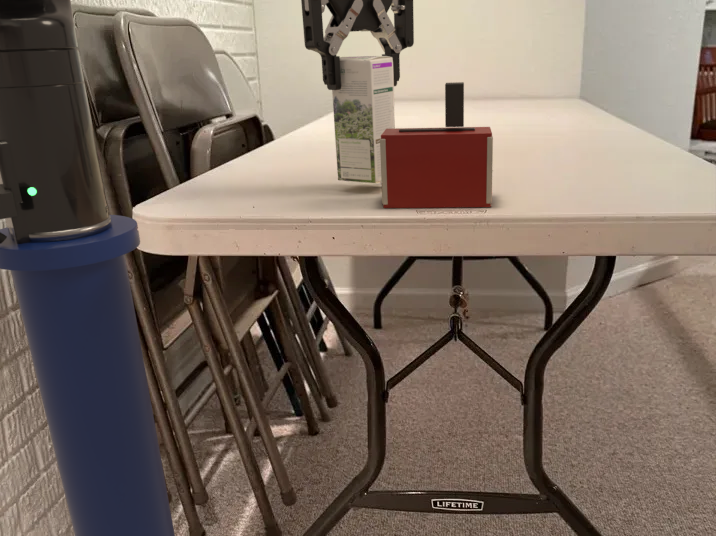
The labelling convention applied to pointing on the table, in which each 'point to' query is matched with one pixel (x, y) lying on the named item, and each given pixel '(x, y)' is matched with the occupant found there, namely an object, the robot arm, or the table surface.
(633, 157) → the table surface
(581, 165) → the table surface
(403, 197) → the toaster
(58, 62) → the robot arm
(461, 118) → the block
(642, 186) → the table surface
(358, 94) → the syrup box
